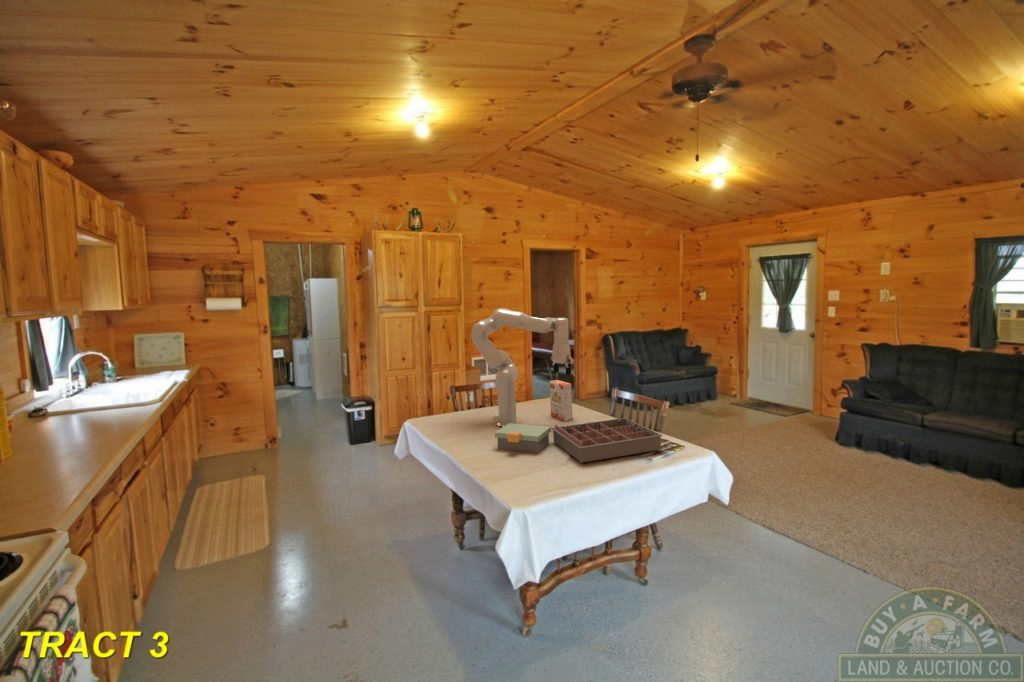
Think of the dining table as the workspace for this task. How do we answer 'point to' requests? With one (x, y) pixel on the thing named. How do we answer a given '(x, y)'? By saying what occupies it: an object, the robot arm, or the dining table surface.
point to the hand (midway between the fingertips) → (562, 373)
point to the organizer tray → (606, 439)
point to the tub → (524, 445)
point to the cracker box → (561, 400)
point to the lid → (522, 432)
